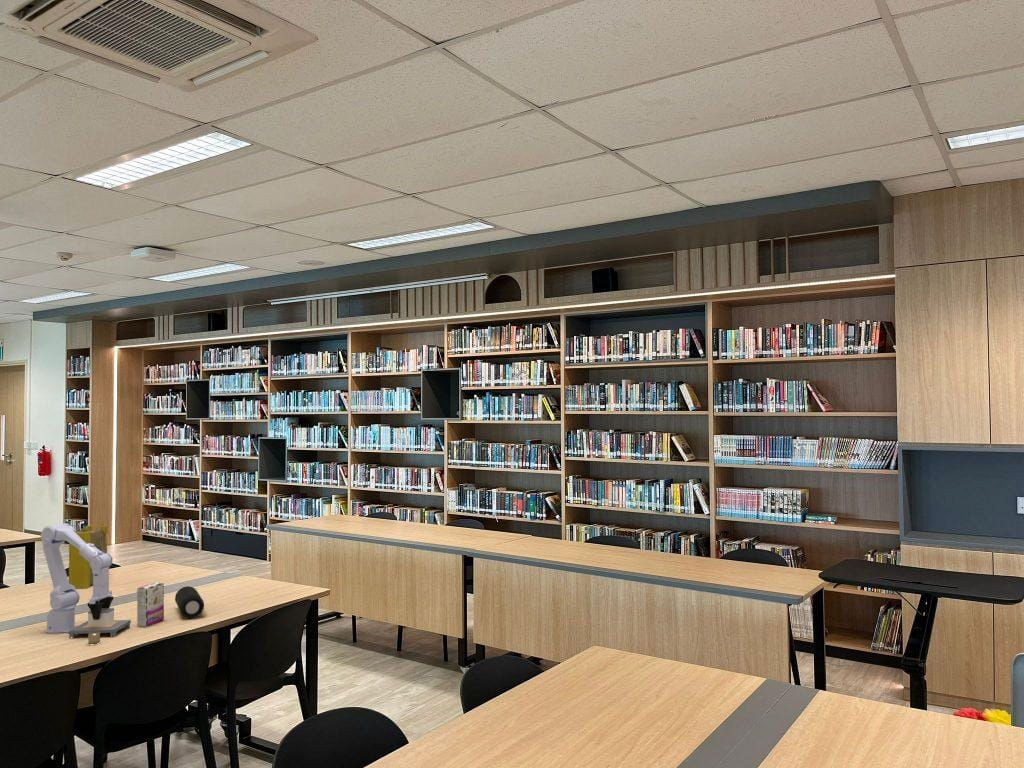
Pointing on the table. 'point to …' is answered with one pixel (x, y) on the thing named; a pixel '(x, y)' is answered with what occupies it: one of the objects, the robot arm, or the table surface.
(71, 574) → the decorative book
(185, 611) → the portable speaker
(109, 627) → the stand
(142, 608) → the candy bar box
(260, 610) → the table surface
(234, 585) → the table surface
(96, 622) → the housing
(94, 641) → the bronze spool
